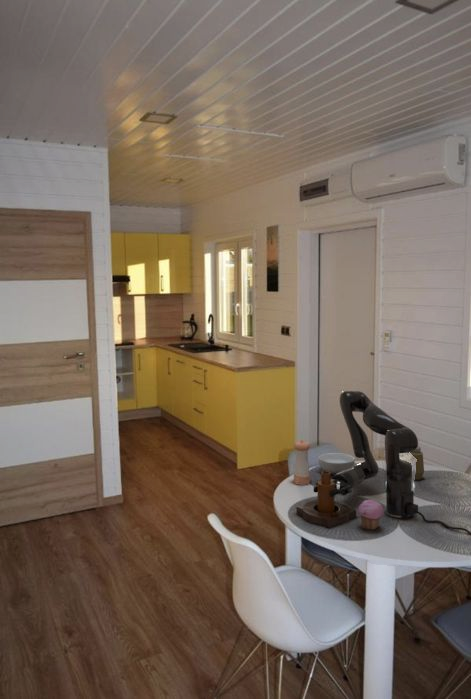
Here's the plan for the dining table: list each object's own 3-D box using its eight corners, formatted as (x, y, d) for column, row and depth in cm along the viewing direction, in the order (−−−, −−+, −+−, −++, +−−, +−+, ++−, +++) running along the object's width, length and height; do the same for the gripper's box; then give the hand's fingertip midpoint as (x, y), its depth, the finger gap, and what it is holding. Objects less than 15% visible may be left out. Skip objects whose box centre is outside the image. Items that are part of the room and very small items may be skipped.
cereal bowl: (347, 480, 259) (347, 464, 259) (313, 474, 268) (312, 459, 267) (359, 469, 274) (359, 455, 273) (327, 464, 282) (327, 450, 282)
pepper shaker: (305, 478, 263) (305, 437, 261) (313, 483, 256) (312, 441, 254) (291, 480, 260) (290, 439, 258) (298, 485, 253) (298, 443, 251)
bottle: (337, 515, 220) (338, 472, 218) (326, 520, 216) (326, 476, 214) (325, 511, 225) (325, 468, 223) (314, 515, 221) (313, 472, 219)
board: (360, 516, 218) (360, 509, 218) (327, 529, 207) (327, 521, 207) (324, 503, 233) (324, 496, 232) (292, 514, 221) (292, 507, 221)
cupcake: (364, 520, 214) (364, 495, 213) (386, 526, 210) (386, 499, 208) (354, 529, 207) (354, 502, 206) (377, 534, 202) (378, 507, 201)
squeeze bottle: (402, 476, 263) (402, 437, 261) (417, 474, 266) (417, 436, 264) (412, 481, 256) (413, 442, 254) (428, 479, 258) (428, 440, 256)
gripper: (330, 467, 234) (306, 478, 222) (361, 475, 224) (339, 486, 212) (330, 485, 235) (306, 497, 222) (361, 493, 225) (339, 506, 213)
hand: (322, 492), depth 217 cm, fingers closed on bottle, 6 cm apart
